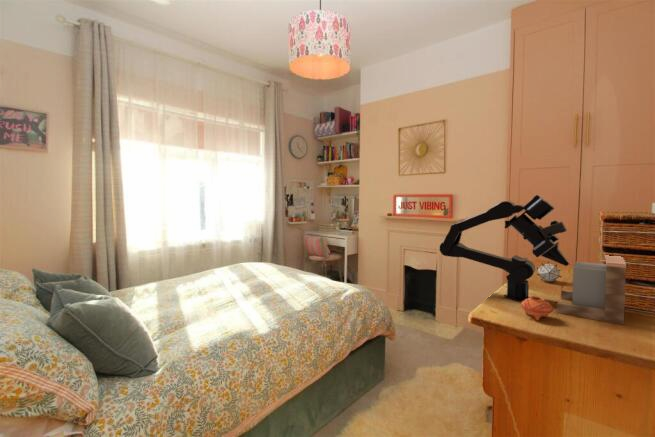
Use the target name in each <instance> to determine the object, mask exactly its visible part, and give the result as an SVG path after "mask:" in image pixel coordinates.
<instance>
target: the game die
mask: <svg viewBox="0 0 655 437" xmlns="http://www.w3.org/2000/svg"><path fill="white" fill-rule="evenodd" d="M536 270H538V271H537V272H538V273H537V274H536V276H539V277H540V281H543V280H544V281H545V282H546V281H547V282H548V284H550V282H553V281H554V282H555V283H556V282H557V279H558V278H562V276H561V275H560V271H561V269H559V268H558V264H557V263H556V264H555V265H554V264H552V263H550V262H549V261H547V263H545V264H544V263H541V266H539V267H536Z"/></svg>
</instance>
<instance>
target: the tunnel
mask: <svg viewBox="0 0 655 437" xmlns="http://www.w3.org/2000/svg"><path fill="white" fill-rule="evenodd" d="M604 260H606V289H605V309H598V308H592V307H586V306H580V305H573V304H572V303H567V302H566V303H565V302H560V301H557V303H556V304H557V305H556V313H557V314H561V315H566V316H567V315H568V316H573V317H578V318H585V319H591V320H595V321H596V320H597V321H600V322H601V321H602V322H607V323H613V324H619V325H625V322H624V321H625V304H626V303H625V302H626V300H625V298H626V280H627V279H626V276H627V263H626V261H625V258H624V257H621V256H609V255H605V254H604ZM560 292H561V293H560V299H561V300H565V301H571V302H572V295H573V290H567V289H561V291H560Z"/></svg>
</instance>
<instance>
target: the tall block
mask: <svg viewBox="0 0 655 437" xmlns="http://www.w3.org/2000/svg"><path fill="white" fill-rule="evenodd" d="M572 272H573V273H572V291H573V295H572V301H571V304H573V305H580V306H586V307H592V308H598V309H605V289H606V264H604V263H594V262H593V263H592V262H584V261H583V262H582V261H574V264H573V269H572Z"/></svg>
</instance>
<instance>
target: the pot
mask: <svg viewBox="0 0 655 437" xmlns="http://www.w3.org/2000/svg"><path fill="white" fill-rule="evenodd" d="M529 297H530V298H527V299H525V300H524V301H521V303H520V306H521V308H522V309H523V310H524V313H525V315H528V314H529V315H531V316H533V317H534V318H535V321H539V320H540V318H542V317H545V318H546V319H547V318H548V317H549V315H550V314H551V313H553V311H554V308H553V306H552V304H550V303H549V302H548V301H546V300H545V298H542V297H540V296H536V295H531V296H529Z"/></svg>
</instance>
